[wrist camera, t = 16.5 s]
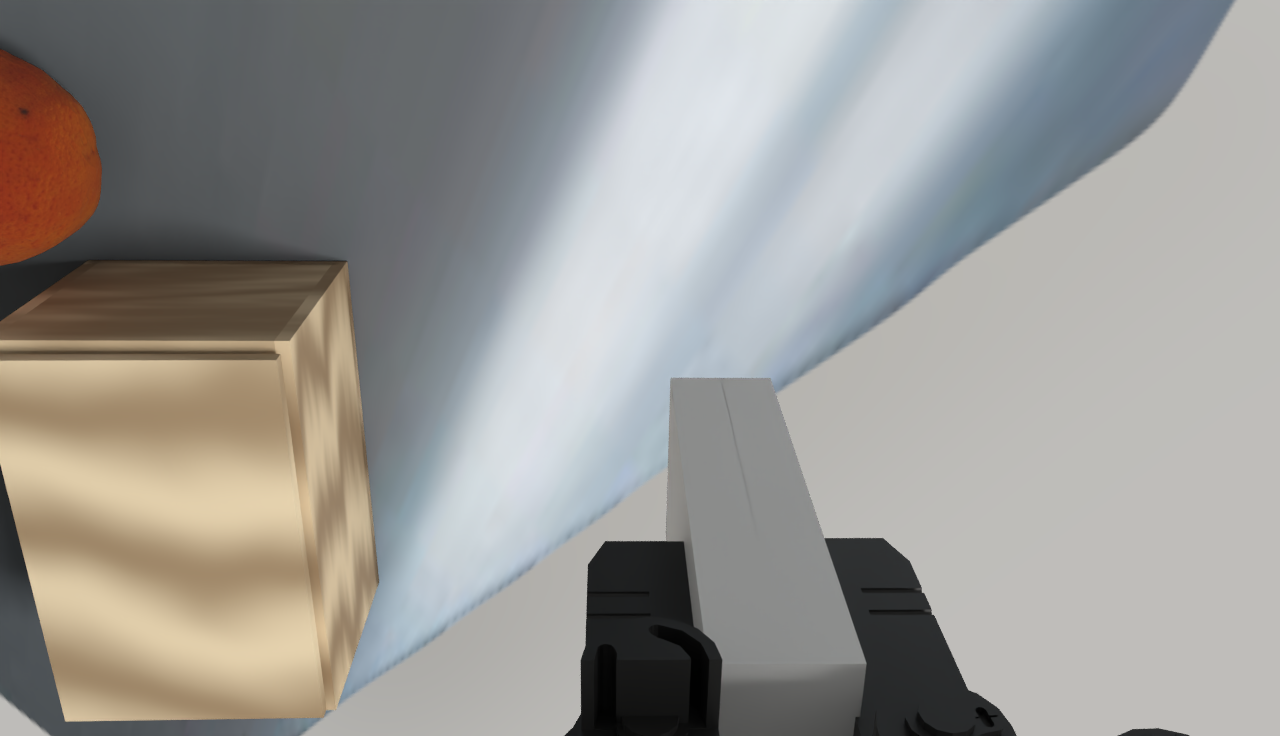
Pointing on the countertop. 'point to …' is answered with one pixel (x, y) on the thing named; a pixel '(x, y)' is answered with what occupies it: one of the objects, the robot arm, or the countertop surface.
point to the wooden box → (313, 376)
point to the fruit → (42, 162)
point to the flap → (162, 533)
